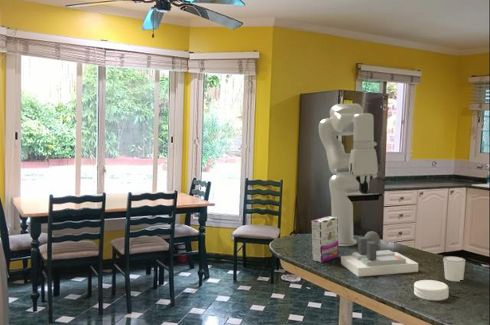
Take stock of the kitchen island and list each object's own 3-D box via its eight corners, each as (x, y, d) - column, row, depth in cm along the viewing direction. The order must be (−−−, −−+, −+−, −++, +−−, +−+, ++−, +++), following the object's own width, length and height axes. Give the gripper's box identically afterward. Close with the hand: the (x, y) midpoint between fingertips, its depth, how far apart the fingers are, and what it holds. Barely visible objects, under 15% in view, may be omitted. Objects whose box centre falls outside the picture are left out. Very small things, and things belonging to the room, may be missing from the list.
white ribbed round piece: (438, 289, 149) (438, 278, 149) (455, 300, 140) (455, 288, 139) (408, 290, 149) (408, 280, 148) (423, 302, 139) (423, 290, 138)
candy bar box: (329, 255, 192) (328, 215, 191) (339, 257, 188) (338, 217, 187) (311, 260, 184) (310, 219, 183) (321, 263, 181) (320, 221, 180)
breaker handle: (366, 257, 169) (366, 241, 169) (372, 257, 170) (372, 241, 169) (370, 260, 166) (370, 243, 166) (376, 259, 167) (376, 243, 166)
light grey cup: (448, 274, 163) (448, 254, 163) (468, 278, 158) (468, 258, 158) (439, 279, 159) (439, 258, 158) (460, 283, 154) (460, 262, 153)
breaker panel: (341, 263, 179) (340, 237, 178) (396, 259, 183) (396, 233, 182) (358, 276, 163) (357, 247, 162) (418, 271, 167) (418, 243, 166)
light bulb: (380, 257, 186) (380, 233, 185) (364, 257, 187) (364, 232, 187) (379, 253, 192) (378, 229, 191) (364, 253, 193) (364, 229, 192)
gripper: (377, 144, 182) (377, 191, 184) (341, 146, 180) (341, 192, 181) (386, 145, 175) (386, 193, 176) (348, 146, 172) (349, 195, 174)
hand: (363, 193), depth 179 cm, fingers closed
